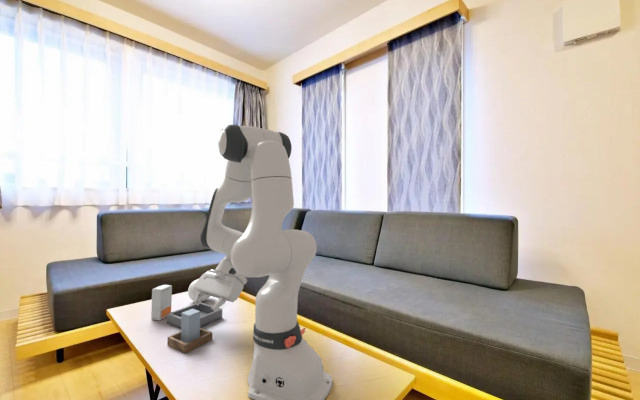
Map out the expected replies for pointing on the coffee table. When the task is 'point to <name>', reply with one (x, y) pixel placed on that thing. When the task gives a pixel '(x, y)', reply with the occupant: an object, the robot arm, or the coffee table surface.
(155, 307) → the skincare box
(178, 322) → the charcoal tray
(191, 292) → the ornament
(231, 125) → the robot arm
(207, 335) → the walnut holder
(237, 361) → the coffee table surface
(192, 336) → the slate block
